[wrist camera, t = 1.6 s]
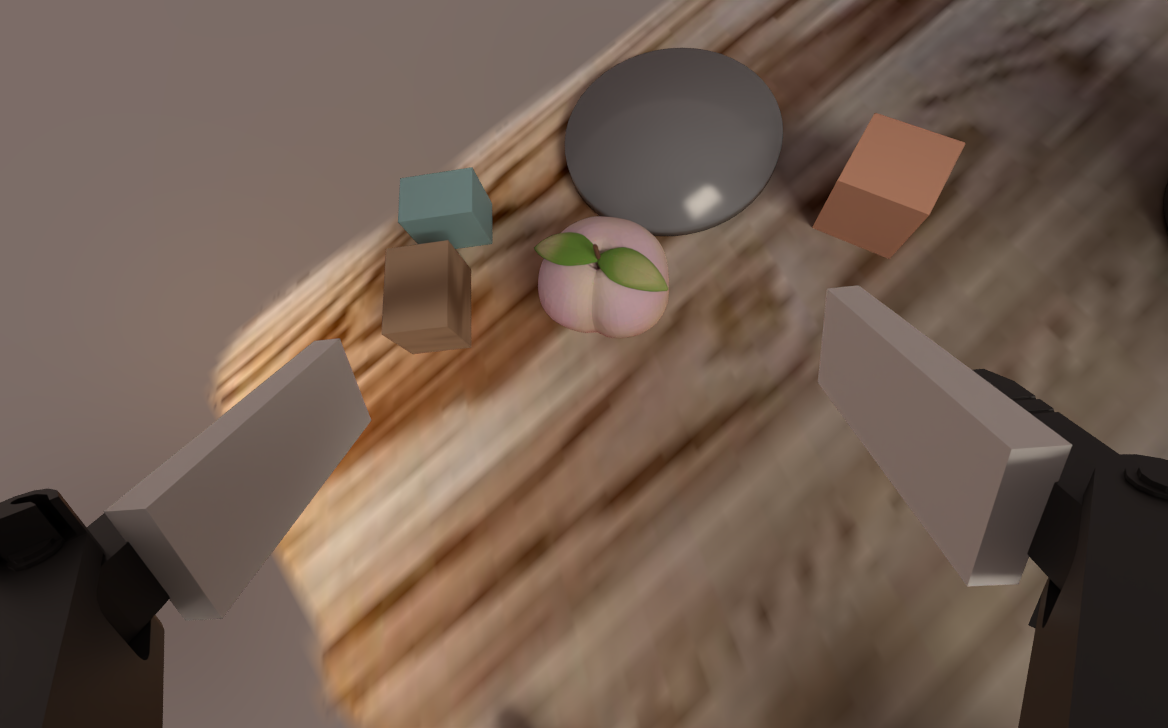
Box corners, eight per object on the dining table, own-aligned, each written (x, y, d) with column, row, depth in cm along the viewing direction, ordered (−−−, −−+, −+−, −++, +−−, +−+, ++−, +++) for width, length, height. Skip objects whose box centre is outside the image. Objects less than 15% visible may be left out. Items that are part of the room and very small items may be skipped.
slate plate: (666, 28, 47) (667, 16, 46) (826, 130, 41) (831, 119, 40) (526, 154, 45) (522, 145, 44) (674, 278, 40) (674, 271, 39)
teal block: (492, 204, 44) (472, 167, 40) (492, 244, 43) (472, 211, 38) (427, 213, 45) (400, 178, 40) (426, 253, 44) (398, 222, 39)
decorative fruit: (680, 267, 40) (686, 191, 30) (659, 365, 38) (659, 316, 28) (567, 250, 42) (540, 174, 32) (542, 342, 40) (505, 290, 30)
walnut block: (415, 277, 43) (385, 248, 39) (471, 270, 43) (448, 240, 38) (413, 354, 41) (381, 334, 37) (471, 347, 41) (447, 326, 36)
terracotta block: (844, 168, 40) (874, 112, 35) (920, 197, 39) (965, 142, 33) (811, 228, 39) (837, 180, 34) (888, 259, 38) (929, 214, 32)
